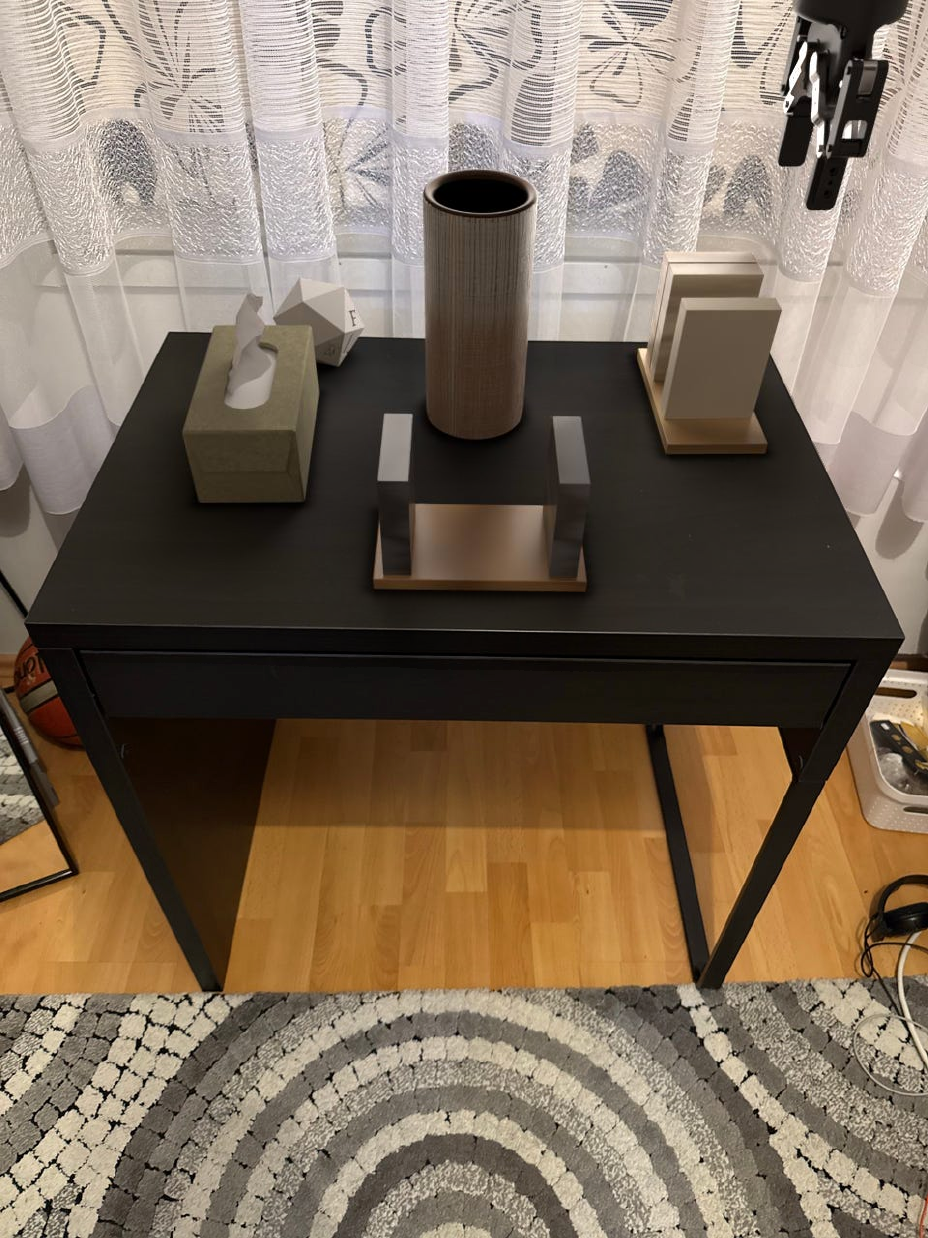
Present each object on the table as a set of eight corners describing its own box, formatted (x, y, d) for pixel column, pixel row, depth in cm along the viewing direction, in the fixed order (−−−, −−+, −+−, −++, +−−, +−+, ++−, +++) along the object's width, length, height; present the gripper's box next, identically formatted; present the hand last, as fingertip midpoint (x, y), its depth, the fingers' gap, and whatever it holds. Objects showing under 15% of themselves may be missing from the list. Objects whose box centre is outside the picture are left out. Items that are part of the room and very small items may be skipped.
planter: (537, 430, 95) (556, 206, 78) (444, 449, 93) (444, 221, 76) (501, 379, 101) (512, 162, 85) (414, 395, 99) (408, 175, 82)
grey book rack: (575, 515, 86) (589, 412, 78) (585, 592, 79) (601, 488, 71) (381, 513, 86) (374, 409, 78) (373, 589, 79) (365, 485, 71)
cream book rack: (764, 453, 93) (802, 333, 83) (665, 454, 93) (691, 333, 83) (724, 357, 105) (752, 243, 96) (636, 357, 105) (656, 243, 95)
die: (307, 392, 100) (359, 319, 95) (246, 334, 100) (294, 258, 95) (341, 378, 108) (390, 311, 103) (283, 324, 107) (330, 254, 102)
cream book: (751, 418, 95) (782, 309, 86) (664, 419, 95) (686, 309, 86) (745, 405, 97) (775, 297, 88) (659, 406, 96) (681, 297, 88)
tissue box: (304, 505, 86) (283, 352, 75) (198, 506, 86) (160, 353, 74) (319, 392, 99) (303, 247, 88) (227, 392, 99) (199, 246, 87)
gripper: (783, -89, 66) (735, 152, 78) (842, -45, 56) (777, 224, 68) (888, -89, 66) (825, 152, 78) (966, -45, 56) (880, 224, 68)
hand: (803, 185), depth 73 cm, fingers open, 8 cm apart
